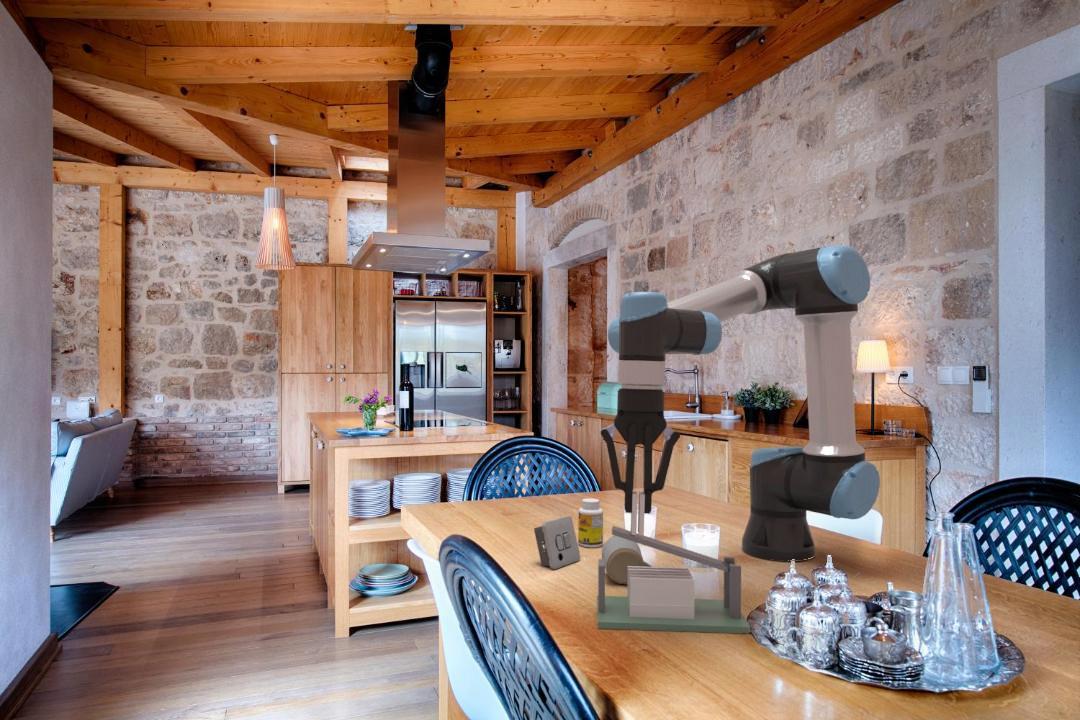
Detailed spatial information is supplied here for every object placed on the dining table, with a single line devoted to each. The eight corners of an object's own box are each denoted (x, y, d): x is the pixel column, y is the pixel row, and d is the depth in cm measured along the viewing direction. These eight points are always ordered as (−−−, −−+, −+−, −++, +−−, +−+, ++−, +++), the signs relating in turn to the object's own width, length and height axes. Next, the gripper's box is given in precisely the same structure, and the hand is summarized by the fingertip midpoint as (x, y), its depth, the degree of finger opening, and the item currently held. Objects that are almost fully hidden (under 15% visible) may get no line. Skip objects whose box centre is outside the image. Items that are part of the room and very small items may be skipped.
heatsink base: (733, 605, 114) (733, 551, 114) (750, 633, 102) (750, 572, 102) (597, 601, 115) (597, 547, 115) (598, 628, 103) (598, 568, 104)
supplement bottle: (574, 543, 154) (574, 498, 154) (595, 541, 156) (596, 496, 156) (585, 549, 149) (585, 503, 149) (607, 546, 151) (607, 501, 151)
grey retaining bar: (733, 572, 109) (736, 562, 109) (737, 577, 106) (740, 568, 106) (610, 532, 111) (613, 523, 111) (611, 537, 108) (614, 527, 108)
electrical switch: (553, 571, 133) (550, 523, 133) (533, 568, 136) (530, 522, 137) (581, 561, 140) (578, 515, 141) (561, 558, 143) (558, 514, 144)
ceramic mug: (605, 586, 124) (606, 544, 124) (601, 572, 132) (602, 533, 132) (663, 587, 124) (664, 545, 124) (654, 574, 132) (655, 534, 132)
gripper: (679, 388, 113) (676, 529, 112) (599, 385, 114) (595, 525, 113) (686, 389, 105) (682, 540, 105) (599, 386, 106) (595, 536, 106)
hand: (637, 532), depth 109 cm, fingers closed
